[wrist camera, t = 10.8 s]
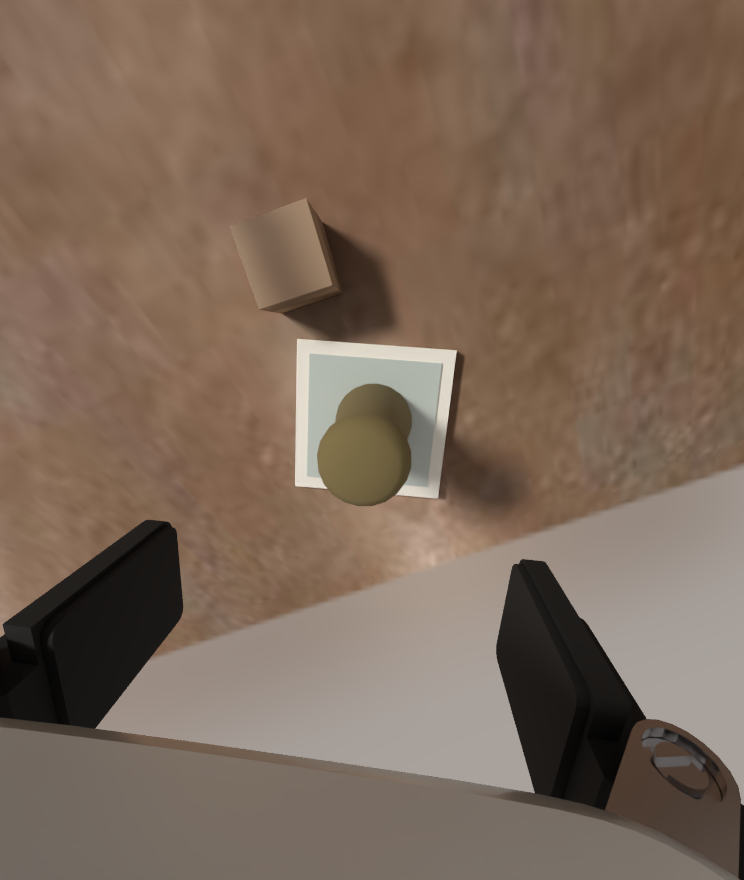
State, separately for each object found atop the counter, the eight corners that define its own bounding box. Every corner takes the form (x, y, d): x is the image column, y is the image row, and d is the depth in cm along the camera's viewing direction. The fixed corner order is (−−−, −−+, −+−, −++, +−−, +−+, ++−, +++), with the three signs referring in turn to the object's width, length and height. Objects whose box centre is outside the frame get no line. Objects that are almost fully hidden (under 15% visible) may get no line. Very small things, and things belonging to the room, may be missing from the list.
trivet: (455, 350, 29) (457, 350, 28) (436, 494, 32) (438, 499, 31) (299, 338, 29) (296, 338, 28) (297, 482, 33) (294, 486, 32)
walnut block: (322, 221, 27) (306, 198, 22) (343, 293, 28) (332, 285, 23) (258, 244, 28) (229, 226, 23) (281, 313, 29) (258, 309, 24)
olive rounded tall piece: (418, 451, 30) (430, 514, 20) (344, 463, 31) (318, 531, 20) (404, 376, 29) (410, 400, 18) (327, 391, 29) (289, 423, 19)
